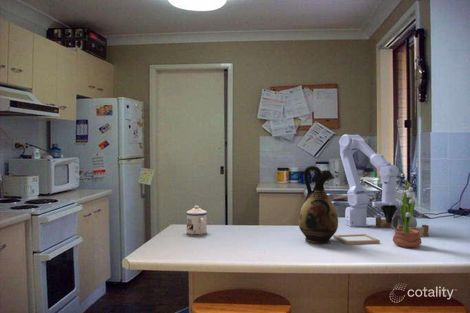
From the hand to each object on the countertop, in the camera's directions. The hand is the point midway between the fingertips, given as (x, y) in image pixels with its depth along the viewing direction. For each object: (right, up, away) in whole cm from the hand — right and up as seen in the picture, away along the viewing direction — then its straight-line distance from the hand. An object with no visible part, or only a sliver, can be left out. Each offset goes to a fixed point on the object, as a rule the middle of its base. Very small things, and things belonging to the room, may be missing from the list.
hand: (388, 222), depth 171 cm
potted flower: (-3, -5, -26) cm, 27 cm away
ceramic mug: (+7, -4, +2) cm, 8 cm away
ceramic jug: (-36, -4, -18) cm, 41 cm away
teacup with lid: (-85, -4, -6) cm, 85 cm away
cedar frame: (+6, -4, +1) cm, 7 cm away
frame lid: (-20, -4, -18) cm, 27 cm away
